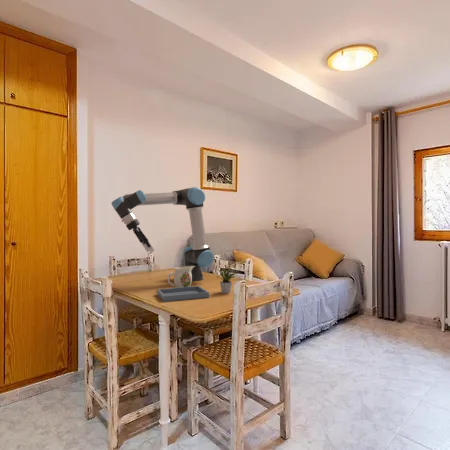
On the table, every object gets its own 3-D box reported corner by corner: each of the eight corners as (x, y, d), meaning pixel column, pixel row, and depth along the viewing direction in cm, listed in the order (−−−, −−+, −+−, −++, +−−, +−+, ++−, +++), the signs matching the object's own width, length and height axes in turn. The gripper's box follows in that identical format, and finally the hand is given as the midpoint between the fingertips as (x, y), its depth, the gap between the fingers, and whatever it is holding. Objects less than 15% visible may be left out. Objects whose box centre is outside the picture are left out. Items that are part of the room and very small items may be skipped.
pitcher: (164, 289, 200) (164, 267, 199) (190, 286, 209) (190, 264, 209) (171, 292, 190) (171, 269, 190) (198, 289, 200) (198, 267, 200)
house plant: (217, 296, 182) (217, 267, 182) (208, 291, 195) (208, 264, 194) (240, 294, 188) (240, 265, 187) (230, 289, 200) (230, 262, 200)
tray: (198, 290, 196) (198, 286, 196) (208, 297, 179) (208, 292, 179) (157, 294, 186) (157, 289, 186) (163, 302, 169) (163, 296, 169)
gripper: (123, 225, 203) (142, 253, 207) (127, 224, 180) (148, 256, 183) (134, 219, 205) (152, 247, 209) (138, 217, 182) (159, 248, 186)
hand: (150, 251), depth 196 cm, fingers open, 13 cm apart
